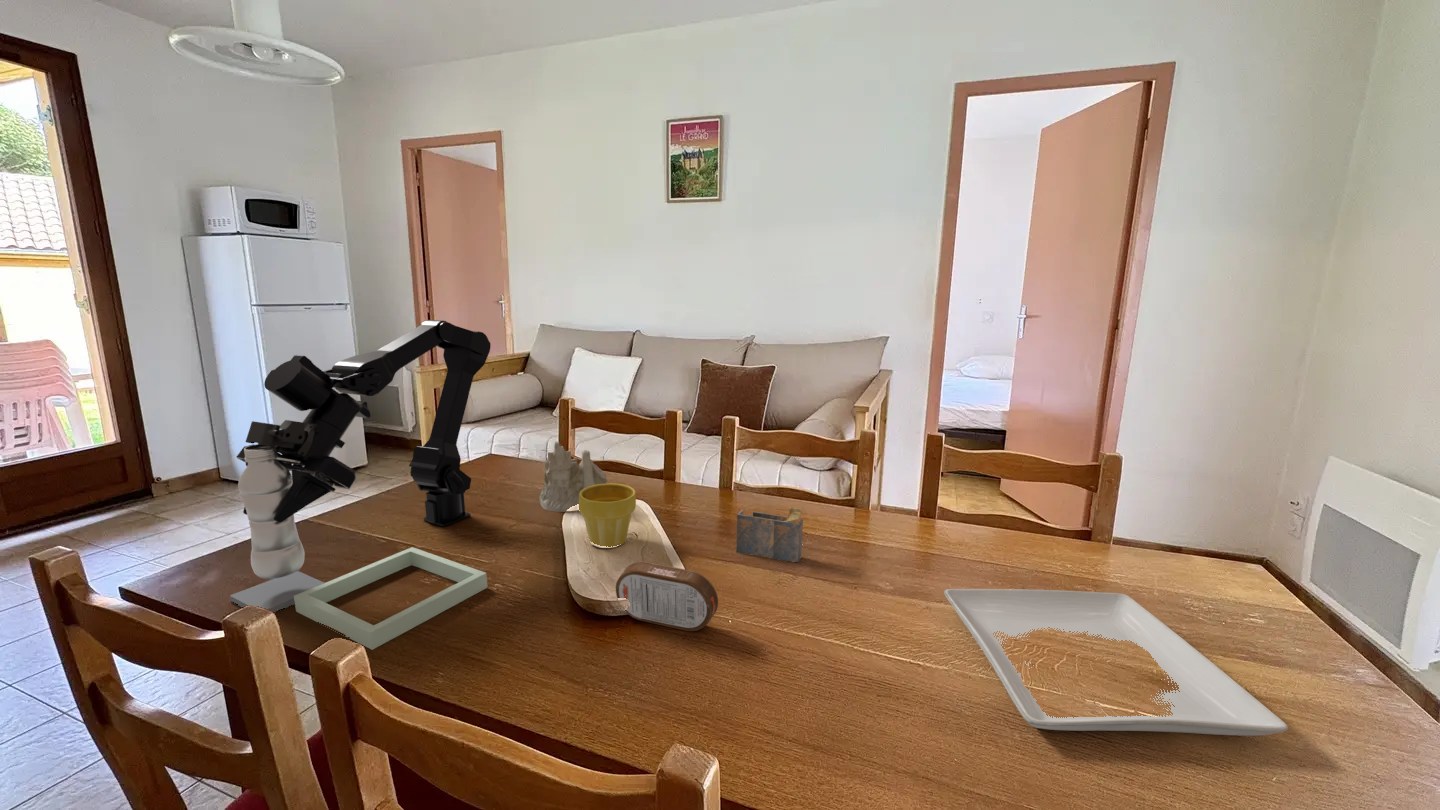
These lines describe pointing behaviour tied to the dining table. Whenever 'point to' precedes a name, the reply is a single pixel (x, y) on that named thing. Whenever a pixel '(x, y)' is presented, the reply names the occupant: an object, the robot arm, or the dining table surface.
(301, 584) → the rubber mat
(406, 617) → the empty rectangular frame
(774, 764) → the dining table surface
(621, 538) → the plant pot
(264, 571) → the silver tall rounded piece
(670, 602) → the tin
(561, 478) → the ceramic cottage
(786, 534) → the mottled blue bin
